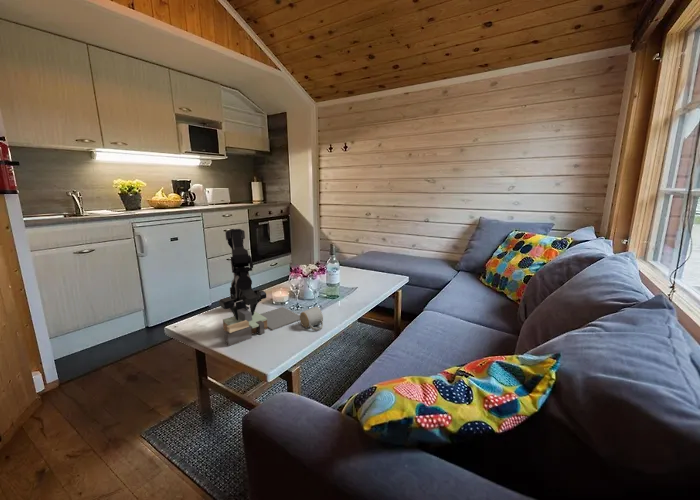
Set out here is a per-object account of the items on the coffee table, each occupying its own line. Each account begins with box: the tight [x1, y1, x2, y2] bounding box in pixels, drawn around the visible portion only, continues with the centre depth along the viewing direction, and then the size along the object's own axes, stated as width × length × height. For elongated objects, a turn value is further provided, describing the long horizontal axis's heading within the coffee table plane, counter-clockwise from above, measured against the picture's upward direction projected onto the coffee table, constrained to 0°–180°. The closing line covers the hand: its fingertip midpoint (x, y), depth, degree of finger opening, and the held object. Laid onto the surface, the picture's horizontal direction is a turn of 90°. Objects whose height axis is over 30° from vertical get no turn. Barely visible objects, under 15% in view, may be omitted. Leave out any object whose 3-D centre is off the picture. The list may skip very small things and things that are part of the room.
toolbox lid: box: [222, 308, 267, 328], centre depth 135 cm, size 15×14×4 cm
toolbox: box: [222, 320, 268, 347], centre depth 134 cm, size 15×18×5 cm
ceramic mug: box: [299, 306, 324, 332], centre depth 139 cm, size 11×8×8 cm
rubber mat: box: [259, 306, 300, 331], centre depth 148 cm, size 18×17×1 cm
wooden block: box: [227, 320, 249, 333], centre depth 126 cm, size 2×8×2 cm, turn 135°
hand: (244, 317), depth 136 cm, fingers open, 7 cm apart
